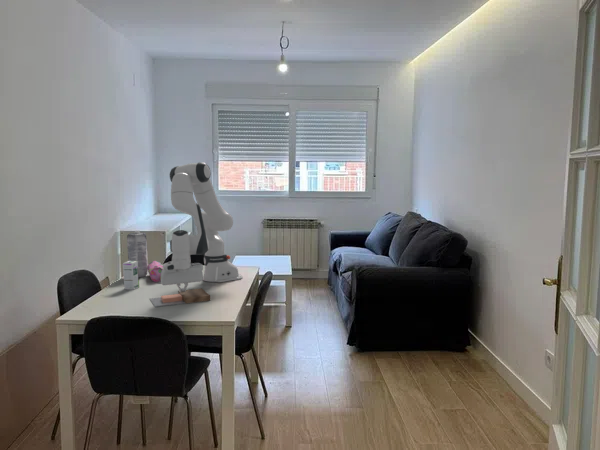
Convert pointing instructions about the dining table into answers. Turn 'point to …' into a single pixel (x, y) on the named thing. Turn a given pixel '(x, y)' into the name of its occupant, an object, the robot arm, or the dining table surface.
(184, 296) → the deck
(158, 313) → the dining table surface
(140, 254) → the juice carton
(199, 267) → the robot arm
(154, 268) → the pencil case
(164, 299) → the salmon pink rectangular block
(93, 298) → the dining table surface
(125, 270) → the syrup box
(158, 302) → the mat
